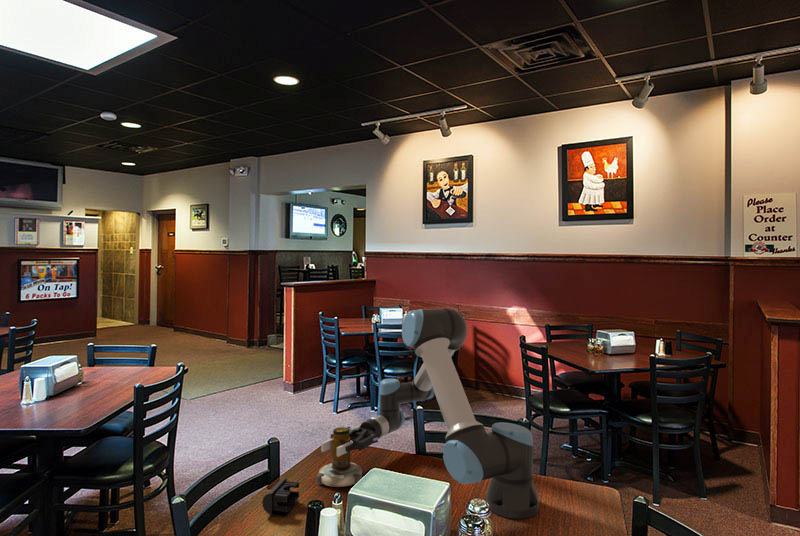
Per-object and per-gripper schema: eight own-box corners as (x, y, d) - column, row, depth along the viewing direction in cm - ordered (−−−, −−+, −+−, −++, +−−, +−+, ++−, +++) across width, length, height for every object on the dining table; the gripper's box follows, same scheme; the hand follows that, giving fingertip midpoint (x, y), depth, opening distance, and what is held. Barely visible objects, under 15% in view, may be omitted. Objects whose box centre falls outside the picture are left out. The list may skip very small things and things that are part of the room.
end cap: (277, 499, 141) (277, 476, 141) (299, 501, 140) (299, 478, 139) (261, 516, 131) (261, 492, 131) (285, 519, 130) (285, 494, 130)
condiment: (343, 459, 159) (343, 424, 159) (359, 467, 152) (359, 431, 152) (325, 465, 154) (325, 429, 154) (340, 474, 148) (340, 436, 147)
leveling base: (364, 468, 161) (364, 458, 161) (359, 489, 146) (359, 477, 146) (324, 468, 162) (324, 457, 162) (314, 488, 147) (314, 476, 147)
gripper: (395, 445, 163) (352, 468, 144) (353, 434, 174) (308, 454, 155) (395, 423, 163) (352, 444, 144) (353, 413, 174) (308, 432, 155)
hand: (329, 449), depth 149 cm, fingers closed on condiment, 6 cm apart
